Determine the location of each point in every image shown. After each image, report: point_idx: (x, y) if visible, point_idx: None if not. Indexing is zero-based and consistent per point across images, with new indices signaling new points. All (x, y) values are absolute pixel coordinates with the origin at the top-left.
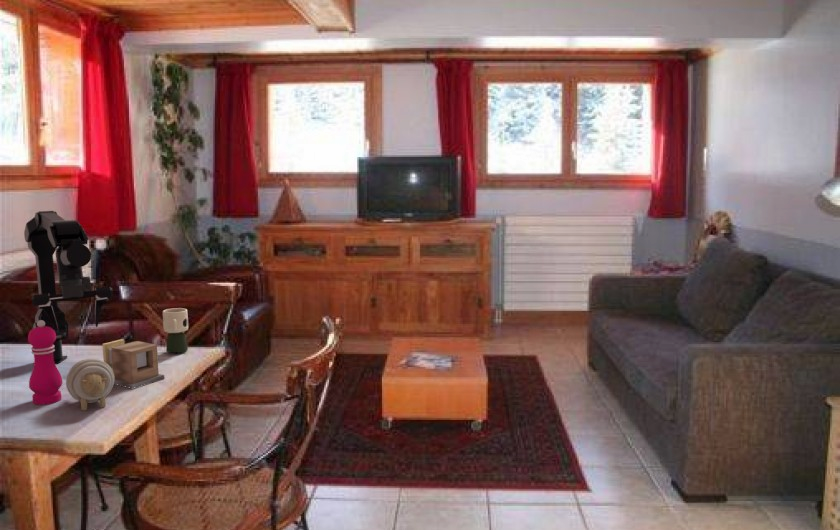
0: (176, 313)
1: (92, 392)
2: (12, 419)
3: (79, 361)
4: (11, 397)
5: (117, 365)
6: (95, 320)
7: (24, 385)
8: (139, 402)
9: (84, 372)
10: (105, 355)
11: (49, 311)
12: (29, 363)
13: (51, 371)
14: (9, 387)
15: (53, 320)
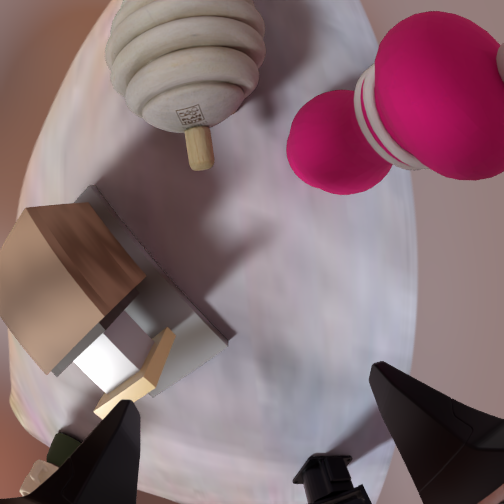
0: (29, 490)
1: None
2: (370, 46)
3: (214, 21)
4: (408, 222)
5: (110, 266)
6: (115, 428)
7: (385, 321)
8: (88, 68)
9: None
10: (155, 351)
11: (498, 433)
12: (360, 459)
13: (333, 98)
14: (413, 313)
15: (435, 403)
